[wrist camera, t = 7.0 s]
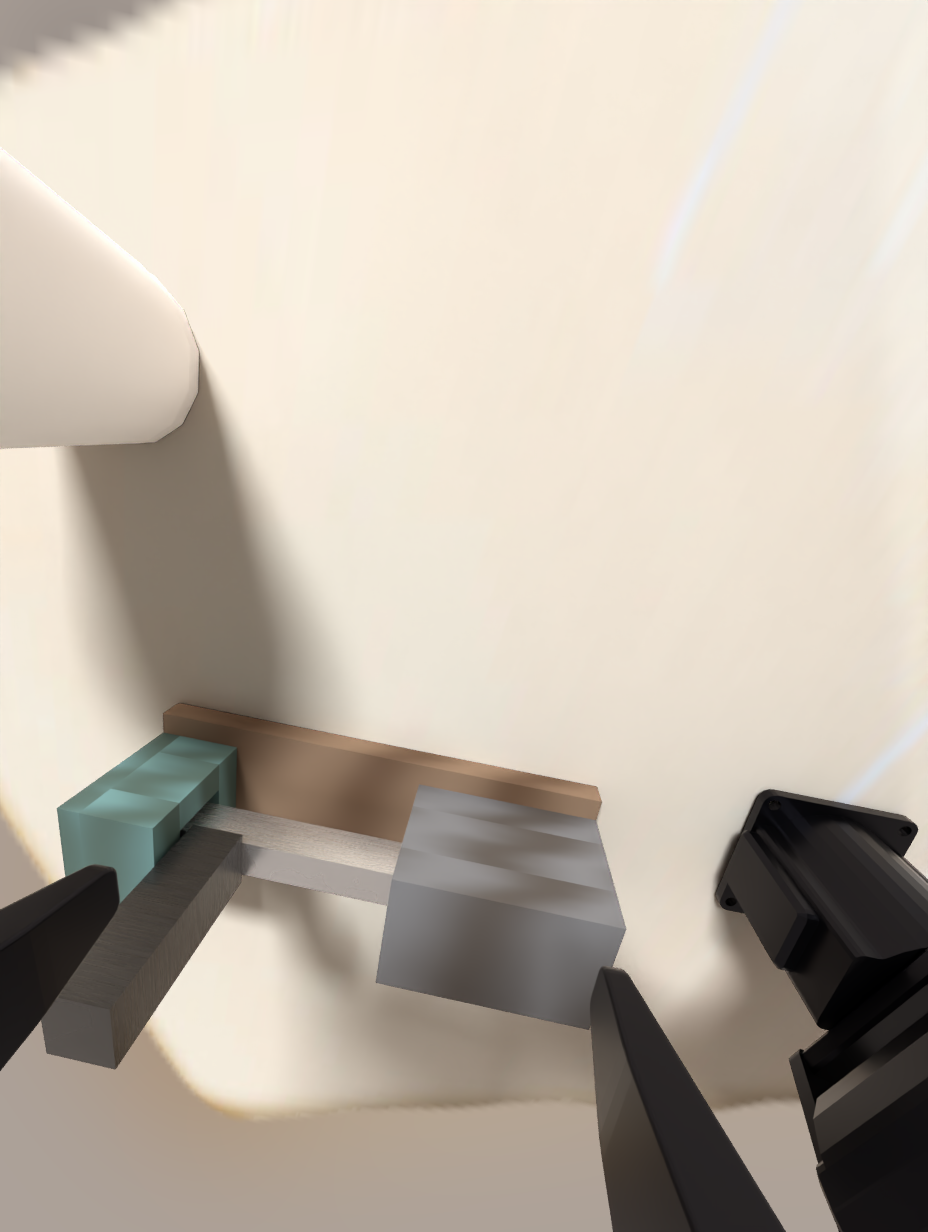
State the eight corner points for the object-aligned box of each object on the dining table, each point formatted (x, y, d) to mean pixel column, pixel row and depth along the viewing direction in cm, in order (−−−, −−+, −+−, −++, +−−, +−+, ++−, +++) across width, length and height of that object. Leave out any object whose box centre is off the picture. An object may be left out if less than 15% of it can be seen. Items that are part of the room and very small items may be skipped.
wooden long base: (596, 786, 20) (634, 906, 14) (561, 902, 22) (582, 1047, 16) (178, 702, 21) (53, 784, 15) (181, 821, 23) (72, 934, 17)
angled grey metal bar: (450, 845, 18) (415, 1079, 11) (441, 888, 19) (403, 1136, 12) (158, 784, 19) (-60, 970, 11) (160, 829, 19) (-46, 1031, 12)
